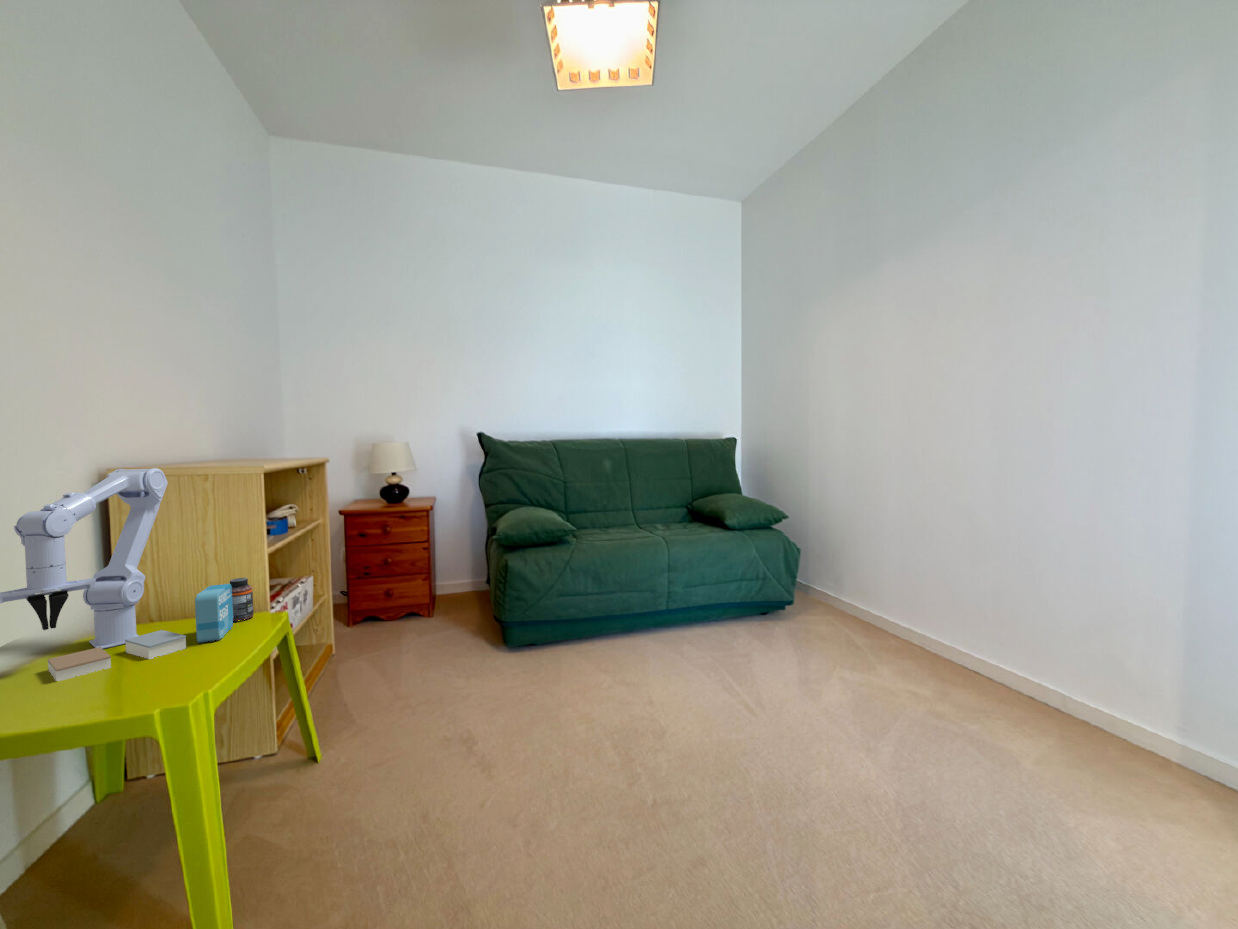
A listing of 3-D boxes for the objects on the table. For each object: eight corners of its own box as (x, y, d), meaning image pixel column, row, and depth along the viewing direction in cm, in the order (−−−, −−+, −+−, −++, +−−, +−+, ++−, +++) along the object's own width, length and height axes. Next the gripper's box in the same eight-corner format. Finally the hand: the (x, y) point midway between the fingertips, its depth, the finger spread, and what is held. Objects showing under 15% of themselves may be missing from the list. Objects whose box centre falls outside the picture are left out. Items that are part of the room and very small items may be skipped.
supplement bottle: (230, 617, 143) (229, 578, 143) (256, 614, 146) (254, 575, 145) (224, 624, 138) (222, 582, 137) (250, 620, 140) (248, 580, 140)
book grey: (125, 654, 119) (124, 639, 119) (162, 643, 125) (161, 629, 125) (149, 661, 114) (149, 646, 114) (186, 649, 120) (186, 635, 120)
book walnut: (48, 672, 109) (47, 659, 109) (100, 660, 116) (100, 647, 115) (56, 684, 103) (56, 669, 103) (111, 670, 110) (110, 656, 110)
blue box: (219, 641, 124) (217, 593, 124) (196, 645, 123) (194, 595, 122) (233, 626, 135) (231, 582, 135) (212, 629, 134) (210, 584, 133)
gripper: (-6, 575, 101) (-2, 642, 102) (97, 561, 113) (100, 621, 113) (-9, 571, 105) (-6, 635, 106) (91, 558, 117) (93, 616, 117)
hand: (49, 628), depth 110 cm, fingers closed
